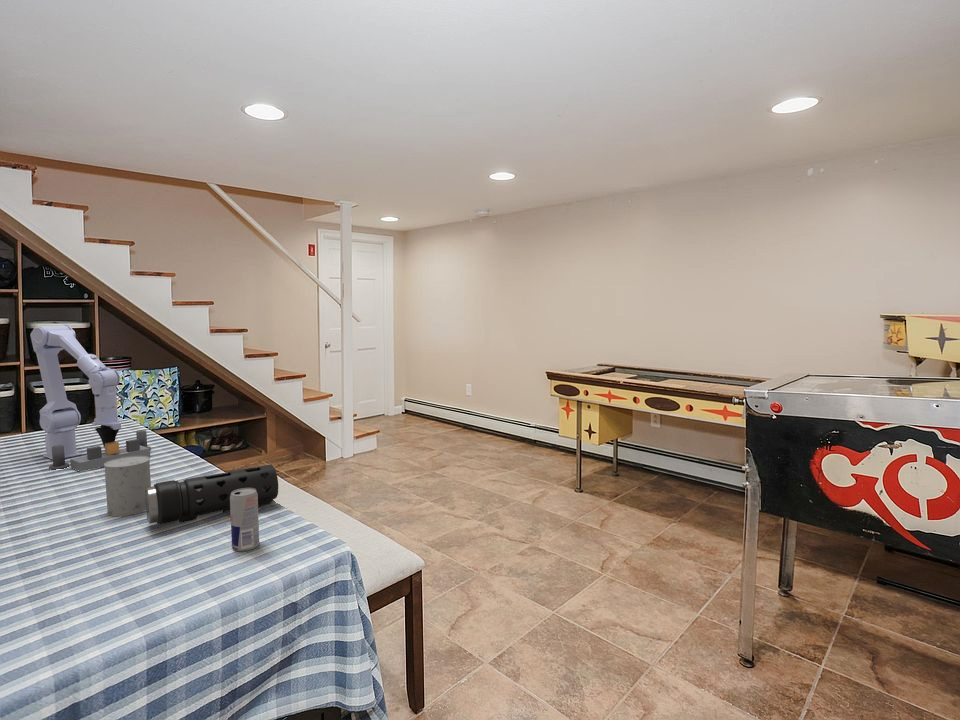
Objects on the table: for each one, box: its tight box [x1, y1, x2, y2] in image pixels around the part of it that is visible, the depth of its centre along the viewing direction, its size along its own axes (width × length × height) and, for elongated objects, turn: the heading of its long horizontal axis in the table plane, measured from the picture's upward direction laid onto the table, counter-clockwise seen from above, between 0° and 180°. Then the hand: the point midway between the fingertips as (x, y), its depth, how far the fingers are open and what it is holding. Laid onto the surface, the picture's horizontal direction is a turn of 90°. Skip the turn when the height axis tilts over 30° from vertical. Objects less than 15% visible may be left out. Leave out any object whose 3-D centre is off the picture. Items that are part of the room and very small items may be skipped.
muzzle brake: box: [145, 464, 279, 525], centre depth 129 cm, size 10×28×10 cm, turn 128°
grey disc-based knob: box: [48, 445, 70, 470], centre depth 164 cm, size 5×5×7 cm
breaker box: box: [70, 438, 151, 471], centre depth 170 cm, size 7×20×6 cm, turn 147°
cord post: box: [135, 430, 152, 451], centre depth 184 cm, size 5×5×7 cm
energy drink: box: [229, 488, 260, 552], centre depth 112 cm, size 5×5×12 cm
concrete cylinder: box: [103, 456, 152, 517], centre depth 132 cm, size 10×10×12 cm
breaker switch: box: [104, 440, 120, 455], centre depth 170 cm, size 2×3×4 cm, turn 147°
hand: (109, 448), depth 171 cm, fingers closed
